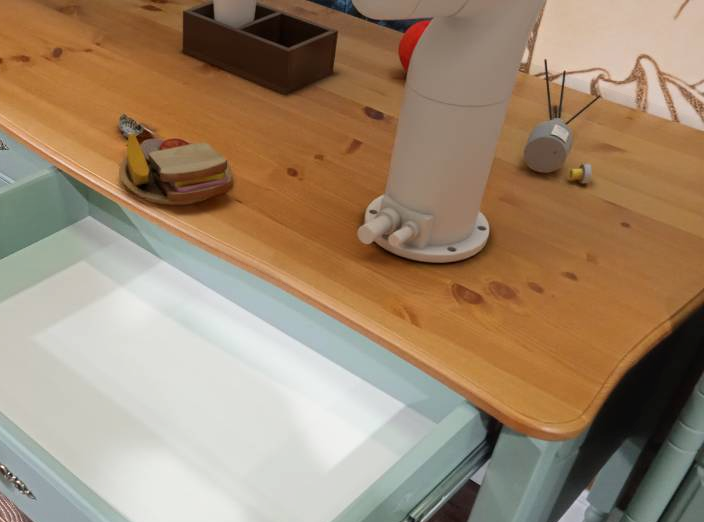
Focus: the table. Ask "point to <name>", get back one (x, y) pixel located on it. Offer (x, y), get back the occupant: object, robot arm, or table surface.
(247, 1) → the tall white cup
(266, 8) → the divided wooden box
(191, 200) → the toy sandwich meal
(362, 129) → the table surface
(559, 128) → the reed diffuser
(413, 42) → the apple
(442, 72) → the robot arm
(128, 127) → the silver ridged wedge
